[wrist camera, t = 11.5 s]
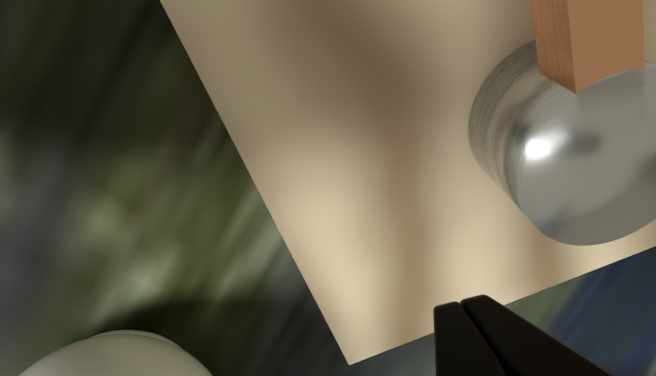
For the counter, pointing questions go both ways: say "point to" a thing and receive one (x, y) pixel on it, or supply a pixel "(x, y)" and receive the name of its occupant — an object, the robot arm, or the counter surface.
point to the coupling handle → (574, 122)
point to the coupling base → (381, 152)
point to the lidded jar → (119, 357)
